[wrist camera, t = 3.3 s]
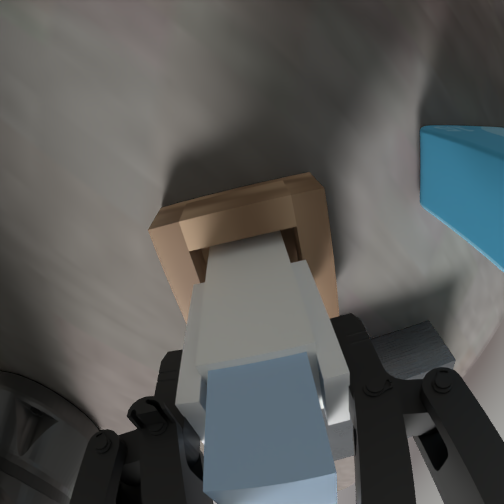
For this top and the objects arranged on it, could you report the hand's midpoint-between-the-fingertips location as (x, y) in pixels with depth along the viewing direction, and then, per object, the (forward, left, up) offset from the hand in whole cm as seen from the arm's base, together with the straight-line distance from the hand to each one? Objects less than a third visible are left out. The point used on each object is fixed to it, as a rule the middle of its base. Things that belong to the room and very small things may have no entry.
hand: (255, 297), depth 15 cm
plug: (0, 0, -4) cm, 4 cm away
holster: (0, 0, -4) cm, 4 cm away
